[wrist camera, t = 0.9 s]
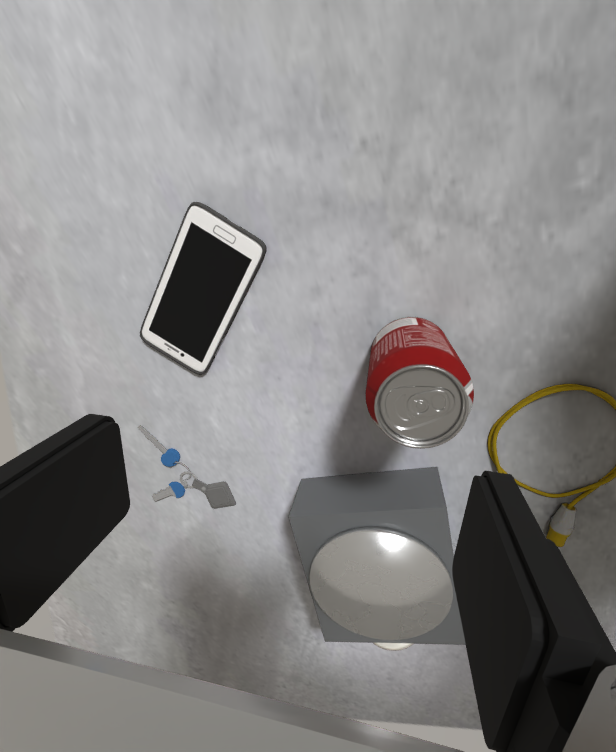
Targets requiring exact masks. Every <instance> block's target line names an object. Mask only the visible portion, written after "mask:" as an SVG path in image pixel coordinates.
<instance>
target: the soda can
mask: <svg viewBox="0 0 616 752" xmlns="http://www.w3.org/2000/svg"><path fill="white" fill-rule="evenodd" d="M473 398H474V391H473V384H472V381H471V378H470V375H469V373H468V372H467V370H466V368H465V367H464V365H463V363H462V362H461V360H460V359H459V357H458V355H457V354H456V352H455V350H454V349H453V347H452V345H451V344H450V342H449V341H448V339H447V337H446V336H445V334H444V333H443V331H442V330H441V329H440V328H439V327H438V326H437V325H435V324H434V323H432V322H430V321H428V320H426V319H423V318H418V317H405V318H401V319H397V320H395V321H393V322H391V323H389V324H387V325H386V326H385V327H384V328H382V329H381V330H380V332H379V333H378V334H377V336H376V337H375V339H374V341H373V344H372V347H371V353H370V361H369V369H368V377H367V385H366V404H367V408H368V411H369V413H370V415H371V417H372V419H373V420H374V422H375V423H376V424H377V426H378V427H379V428H380V429H381V430H383V432H384V433H385V434H386V435H387V436H388V437H389V438H391V439H392V440H394V441H395V442H397V443H399V444H401V445H404V446H407V447H411V448H431V447H435V446H438V445H441V444H443V443H446V442H447V441H449V440H450V439H452V438H453V437H454V436H455V435H457V433H458V432H459V431H460V430H461V429H462V427H463V426H464V424H465V422H466V419H467V417H468V415H469V413H470V410H471V408H472V404H473Z"/></svg>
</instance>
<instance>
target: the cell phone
mask: <svg viewBox="0 0 616 752" xmlns="http://www.w3.org/2000/svg"><path fill="white" fill-rule="evenodd" d="M265 253H266V245H265V244H264V242H263V241H261V240H260V239H259V238H257V237H256V236H254V235H253V234H251V233H249V232H248V231H246V230H245V229H243V228H242V227H240V226H237V225H236V224H234V223H232V222H231V221H229V220H228V219H227V218H226V217H224V216H223V215H221V214H219V213H218V212H216V211H215V210H213V209H210V207H208V206H206V205H204V204H202V203H199V202H193V203H191V204H190V206H189V207H188V209H187V211H186V213H185V216H184V218H183V221H182V223H181V226H180V229H179V231H178V234H177V236H176V239H175V241H174V244H173V247H172V249H171V252H170V254H169V257H168V259H167V262H166V265H165V267H164V270H163V272H162V275H161V277H160V280H159V283H158V285H157V288H156V290H155V293H154V295H153V298H152V301H151V303H150V306H149V308H148V311H147V313H146V316H145V319H144V321H143V324H142V327H141V331H140V337H141V339H142V340H143V341H144V342H145V343H147V344H148V345H150V346H151V347H153V348H155V349H156V350H158V351H159V352H161V353H163V354H164V355H166V356H168V357H169V358H171V359H172V360H174V361H176V362H177V363H179V364H181V365H182V366H184V367H185V368H187V369H189V370H190V371H192V372H194V373H196V374H200V375H201V374H203V373H205V372H206V371H207V370H208V369H209V367H210V365H211V363H212V361H213V359H214V358H215V357H214V355H215V353H216V351H217V349H218V347H219V345H220V343H221V341H222V339H223V337H224V335H226V334H227V332H228V330H229V328H230V326H231V324H232V321H233V319H234V317H235V315H236V313H237V311H238V309H239V307H240V305H241V303H242V301H243V299H244V297H245V295H246V293H247V291H248V289H249V287H250V285H251V283H252V281H253V279H254V277H255V275H256V273H257V271H258V269H259V267H260V265H261V263H262V261H263V259H264V256H265ZM159 284H160V285H159ZM157 289H158V290H157Z"/></svg>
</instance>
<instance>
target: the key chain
mask: <svg viewBox="0 0 616 752" xmlns="http://www.w3.org/2000/svg"><path fill="white" fill-rule="evenodd" d="M138 428H139V429H140V430H141V431H142V433H143V434H144V435H145V436H146V437H147V438H148V439H149V440H150V441H151V442H152V443H153V444H154V445H155V446H156V447H157V448H158V449H159V450H160V451H161V452H162V453H163V455H162V457H161V462H162V463H163V464H164V465H165V466H168V467H171V468H172V466H174V465H176V464H177V463H180V464H182V465H184V466H185V467H186V468H187V469H188V470H189V468H188V467H187V466H186V465H185V464H183V463H181V462H178V461H179V459H180V454H179V452H178V451H177V450H175V449H168V450H167V449H166V448H165V447H164V446H163V445H162V444H160V443H159V442H158V440H156V439H155V438H154V437H153V436H152V435H151V434H150V433H149V432H148V431H147V430H145V429H144V428H143V427H142V426H141V425H140V426H139V427H138ZM176 461H177V462H176ZM174 463H175V464H174ZM184 474H190V476H189V478H187V479H185V480H188V479H190V477H191V475H192V476H193V477H194V478H195V480H194V482H193V484H192V486H188V485H187V482H186V481H185V480H182V477H183V475H184ZM180 481H181V483H182V484H183V485H184V486H182V485H181V484H180V483H178V482H171V483H170V484H169V488H168V487H167V488H166V489H165V491H164V490H160V492H157V493H158V494H155V493H154V494H153V496H152V497H153V500H154V501H158V500H160V499H163V498H165V497H168V496H170V495H172V496H175V497H176V498H180V497H182V496H183V495H184V492H185V489H184V488H196V489H199V490H201V491H202V492H203V493H205V495H206V497H207V499H208V501H209V503H210V505H211V507H212V508H214V509H216V508H222V507H228V506H234V505H236V502H235V500H234V497H233V495H232V493H231V491H230V489H229V486H228V484H227V483H226V482H219V483H214V484H208V485H207V484H205V483H203V482H201V481H199V480H198V479H197V477H196V476H195V475H194V474H193V473H191V472H190V470H189V472H183V473H182V474H181V475H180ZM183 481H184V482H185V483H186V484H185V483H184V482H183Z"/></svg>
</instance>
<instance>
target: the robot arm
mask: <svg viewBox="0 0 616 752" xmlns="http://www.w3.org/2000/svg"><path fill="white" fill-rule="evenodd" d="M129 507H130V498H129V491H128V484H127V477H126V470H125V463H124V456H123V449H122V442H121V435H120V428H119V425H118V424H117V423H115V421H114V419H113V418H112V417H110V416H103V415H96V414H88V415H86V416H84V417H82V418H81V419H79V420H77V421H76V422H74V423H72V424H71V425H69V426H67V427H66V428H64V429H62V430H61V431H59V432H57V433H56V434H54V435H52V436H51V437H49V438H47V439H46V440H44V441H42V442H41V443H39V444H37V445H36V446H34V447H32V448H31V449H29V450H27V451H26V452H24V453H22V454H21V455H19V456H17V457H16V458H14V459H12V460H11V461H9V462H7V463H6V464H4V465H2V466H1V467H0V752H463V751H460V750H457V749H454V748H450V747H446V746H443V745H439V744H436V743H432V742H429V741H425V740H422V739H418V738H415V737H411V736H408V735H404V734H401V733H397V732H394V731H390V730H387V729H383V728H380V727H376V726H372V725H369V724H366V723H362V722H359V721H355V720H351V719H347V718H344V717H340V716H336V715H332V714H328V713H325V712H321V711H317V710H313V709H309V708H306V707H302V706H298V705H294V704H290V703H287V702H283V701H279V700H275V699H271V698H268V697H264V696H260V695H256V694H252V693H249V692H245V691H241V690H237V689H234V688H230V687H226V686H222V685H218V684H215V683H211V682H207V681H203V680H199V679H195V678H191V677H187V676H184V675H180V674H176V673H172V672H168V671H164V670H160V669H156V668H153V667H149V666H145V665H141V664H137V663H133V662H129V661H125V660H121V659H118V658H114V657H110V656H106V655H102V654H98V653H94V652H90V651H86V650H82V649H78V648H74V647H71V646H67V645H63V644H59V643H55V642H51V641H47V640H43V639H39V638H35V637H31V636H27V635H23V634H19V633H14V632H13V630H15V628H18V627H21V626H22V625H24V624H25V623H26V622H27V621H28V620H29V619H30V618H31V617H32V616H33V615H34V613H35V612H36V611H37V610H38V609H39V608H40V607H41V606H42V605H43V604H44V603H45V602H46V601H47V600H48V598H49V597H50V596H51V595H52V594H53V593H54V592H55V591H56V590H57V589H58V588H59V587H60V586H61V585H62V583H63V582H64V581H65V580H66V579H67V578H68V577H69V576H70V575H71V574H72V573H73V572H74V571H75V569H76V568H77V567H78V566H79V565H80V564H81V563H82V562H83V561H84V560H85V559H86V558H87V557H88V556H89V554H90V553H91V552H92V551H93V550H94V549H95V548H96V547H97V546H98V545H99V544H100V543H101V542H102V540H103V539H104V538H105V537H106V536H107V535H108V534H109V533H110V532H111V531H112V530H113V529H114V528H115V527H116V525H117V524H118V523H119V522H120V521H121V520H122V519H123V518H124V517H125V516H126V514H127V512H128V510H129ZM452 576H453V582H454V587H455V592H456V597H457V602H458V607H459V612H460V618H461V623H462V628H463V633H464V638H465V643H466V648H467V653H468V658H469V663H470V669H471V674H472V679H473V684H474V689H475V694H476V699H477V704H478V709H479V714H480V720H481V725H482V730H483V735H484V739H485V743H486V745H487V747H488V748H489V749H492V750H496V752H616V652H615V650H614V648H613V646H612V645H611V643H610V641H609V639H608V637H607V636H606V634H605V632H604V630H603V628H602V627H601V625H600V623H599V621H598V619H597V617H596V616H595V614H594V612H593V610H592V608H591V607H590V605H589V603H588V601H587V599H586V598H585V596H584V594H583V592H582V590H581V589H580V587H579V585H578V583H577V581H576V580H575V578H574V576H573V574H572V572H571V570H570V569H569V567H568V565H567V563H566V561H565V560H564V558H563V556H562V554H561V552H560V551H559V549H558V547H557V546H556V544H555V543H554V542H553V541H551V540H550V539H546V538H545V536H544V534H543V532H542V530H541V529H540V527H539V525H538V523H537V521H536V519H535V517H534V515H533V513H532V512H531V510H530V508H529V506H528V504H527V502H526V500H525V498H524V496H523V495H522V493H521V491H520V489H519V487H518V485H517V483H516V481H515V479H514V478H513V476H512V475H510V474H505V473H498V472H491V471H484V472H483V474H482V476H474V478H473V481H472V485H471V489H470V493H469V497H468V501H467V505H466V510H465V514H464V518H463V522H462V526H461V530H460V534H459V538H458V543H457V547H456V551H455V555H454V559H453V565H452Z"/></svg>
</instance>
